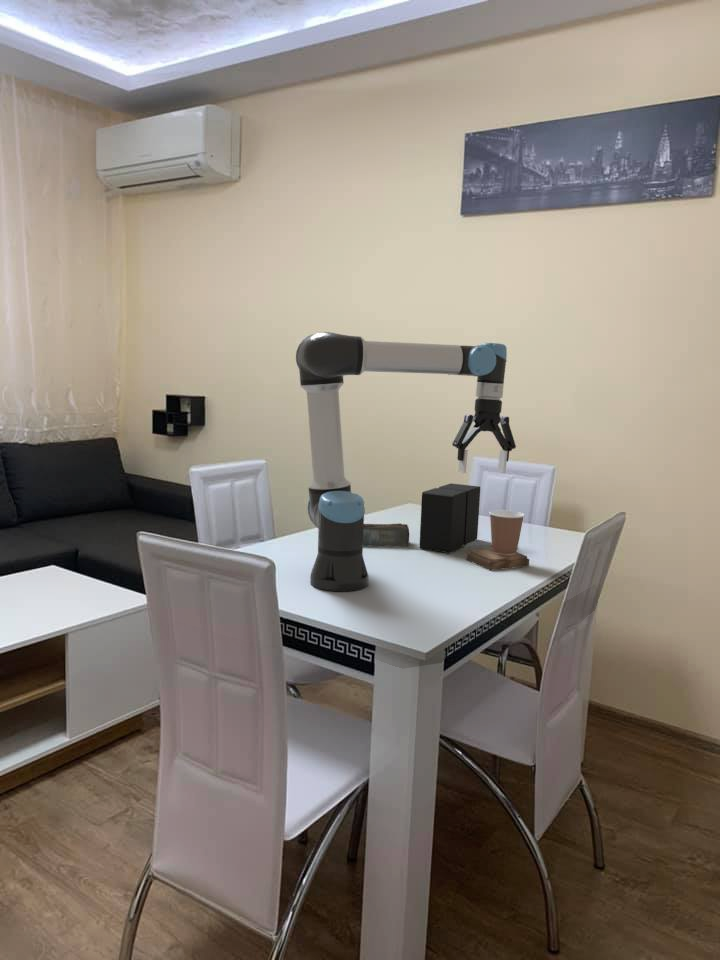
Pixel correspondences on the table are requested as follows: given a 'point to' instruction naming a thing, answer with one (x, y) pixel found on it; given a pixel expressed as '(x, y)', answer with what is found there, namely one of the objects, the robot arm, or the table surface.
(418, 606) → the table surface
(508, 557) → the stand
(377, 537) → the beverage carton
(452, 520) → the speaker
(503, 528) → the coffee cup
